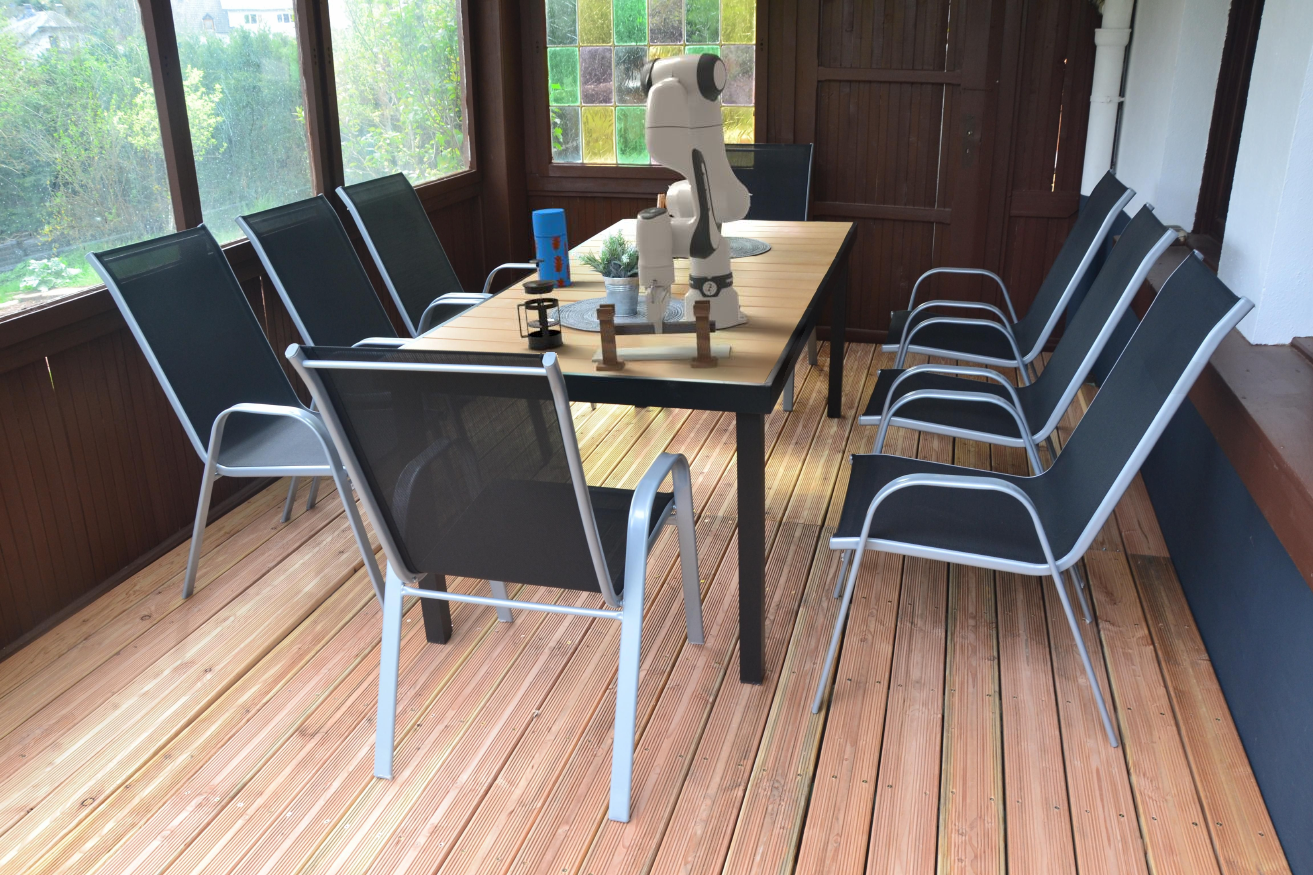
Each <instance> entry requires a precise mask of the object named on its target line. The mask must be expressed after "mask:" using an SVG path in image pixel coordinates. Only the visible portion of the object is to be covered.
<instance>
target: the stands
mask: <svg viewBox="0 0 1313 875" xmlns="http://www.w3.org/2000/svg"><path fill="white" fill-rule="evenodd" d="M595 311H596V320H597V321H598V322H599V331H600V343H601V344H600V345H601V349H602V357H603V360H600V361H598V363H597V364H596V366H595V369H596V370H595V371H621V370H622V368H623V367H624V364H625V361H624V359H617V352H616V348H617V343H616V342H617V341H616V335H615V327H614V323H615V316H616V303H600V304H599V307H597V308H596V310H595ZM693 313H694V316H695V318H696V333H695V334H696V346H697V357H693V359H691V362H690V367H691V368H692V369H693V368H694V369H695V368H696V369H697V368H698V369H699V368H700V369H701V368H717V365H718V360H719V358H718V356H711V346H710V345H711V333H710V325H709V314H710V300H695V305H693Z"/></svg>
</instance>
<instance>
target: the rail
mask: <svg viewBox="0 0 1313 875" xmlns="http://www.w3.org/2000/svg"><path fill="white" fill-rule="evenodd" d="M709 325H710V334H711V333H712V334H713V333H714V334H715V333H716V332H717V329H716V320H709ZM662 326H663V332H662V334H661V335H675V334H676V335H677V334H679V335H680V334H696V321H680V320H679V321H664V322H662ZM614 327H615V336H638V335H639V336H640V335H643V336H647V335H648V336H649V335H657V334H656V333H655V326H654V323H653V322H648V321H647V322H645V321H644V322H643V321H641V322H614Z"/></svg>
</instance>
